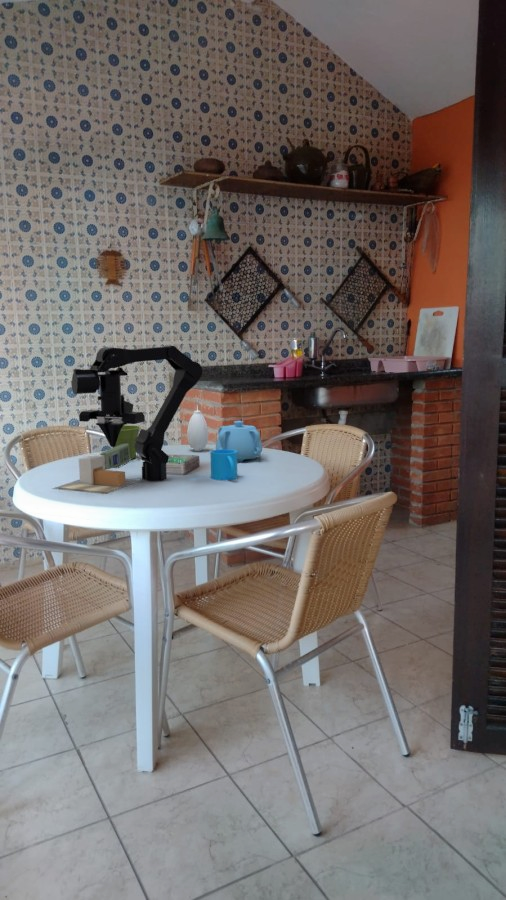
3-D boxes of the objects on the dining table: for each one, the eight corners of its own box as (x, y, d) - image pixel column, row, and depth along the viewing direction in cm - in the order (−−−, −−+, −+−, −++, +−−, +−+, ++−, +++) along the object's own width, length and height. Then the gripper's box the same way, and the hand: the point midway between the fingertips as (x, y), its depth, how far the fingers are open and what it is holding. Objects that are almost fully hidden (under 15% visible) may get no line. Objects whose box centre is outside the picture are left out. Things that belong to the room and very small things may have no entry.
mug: (207, 476, 202) (206, 450, 201) (231, 473, 205) (231, 448, 204) (220, 484, 191) (220, 456, 190) (246, 481, 194) (245, 454, 193)
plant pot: (120, 454, 240) (119, 424, 238) (147, 456, 236) (146, 425, 234) (101, 460, 229) (99, 428, 227) (129, 462, 225) (128, 430, 223)
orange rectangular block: (125, 483, 188) (125, 471, 188) (118, 486, 185) (118, 474, 184) (91, 480, 193) (90, 468, 192) (83, 482, 189) (83, 471, 189)
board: (141, 483, 192) (141, 480, 192) (106, 497, 176) (105, 493, 176) (90, 479, 199) (90, 475, 199) (52, 492, 183) (52, 488, 182)
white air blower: (200, 453, 241) (199, 405, 238) (183, 451, 245) (182, 404, 242) (212, 450, 247) (211, 403, 244) (196, 448, 252) (195, 402, 248)
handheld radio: (131, 461, 227) (102, 476, 203) (123, 461, 228) (92, 476, 204) (130, 443, 226) (100, 455, 202) (121, 443, 227) (90, 455, 203)
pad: (119, 488, 182) (119, 487, 182) (106, 493, 176) (106, 492, 176) (72, 484, 188) (72, 482, 188) (58, 488, 182) (58, 487, 182)
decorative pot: (213, 463, 223) (212, 424, 220) (218, 454, 238) (217, 418, 236) (260, 463, 222) (260, 424, 219) (262, 454, 237) (262, 418, 235)
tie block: (105, 479, 193) (104, 455, 191) (91, 484, 186) (90, 459, 185) (94, 478, 194) (93, 454, 193) (80, 483, 188) (78, 458, 186)
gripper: (154, 390, 187) (155, 444, 189) (99, 389, 194) (102, 440, 196) (133, 394, 177) (135, 450, 179) (76, 392, 183) (79, 446, 186)
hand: (113, 446), depth 186 cm, fingers closed
